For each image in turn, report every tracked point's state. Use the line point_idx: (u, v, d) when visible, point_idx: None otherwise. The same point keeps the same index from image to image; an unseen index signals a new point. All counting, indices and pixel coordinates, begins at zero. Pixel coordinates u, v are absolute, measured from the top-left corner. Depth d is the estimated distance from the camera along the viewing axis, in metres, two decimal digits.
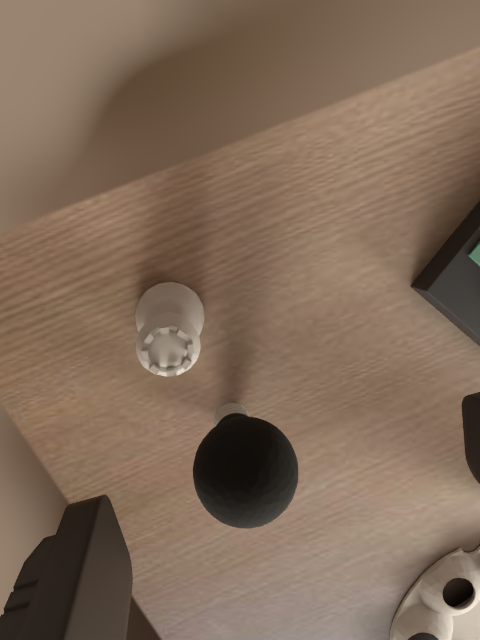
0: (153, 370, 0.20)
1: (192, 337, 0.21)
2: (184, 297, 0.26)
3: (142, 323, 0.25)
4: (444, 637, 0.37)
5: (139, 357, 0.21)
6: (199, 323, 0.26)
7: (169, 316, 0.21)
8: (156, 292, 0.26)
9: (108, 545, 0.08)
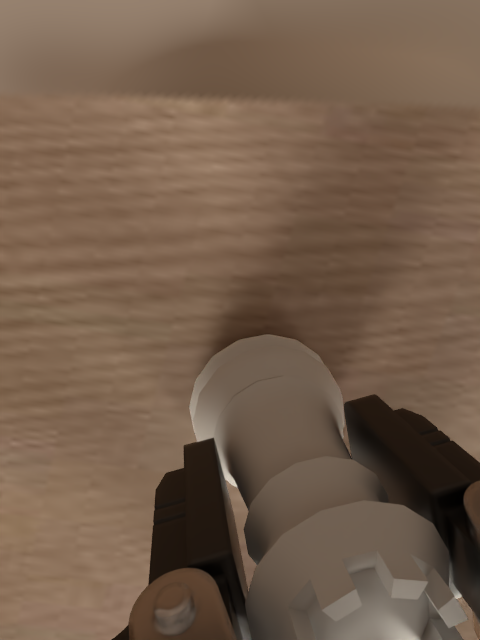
0: None
1: None
2: (328, 390, 0.11)
3: (221, 422, 0.10)
4: None
5: (255, 614, 0.06)
6: None
7: (402, 513, 0.06)
8: (273, 358, 0.11)
9: (223, 479, 0.09)
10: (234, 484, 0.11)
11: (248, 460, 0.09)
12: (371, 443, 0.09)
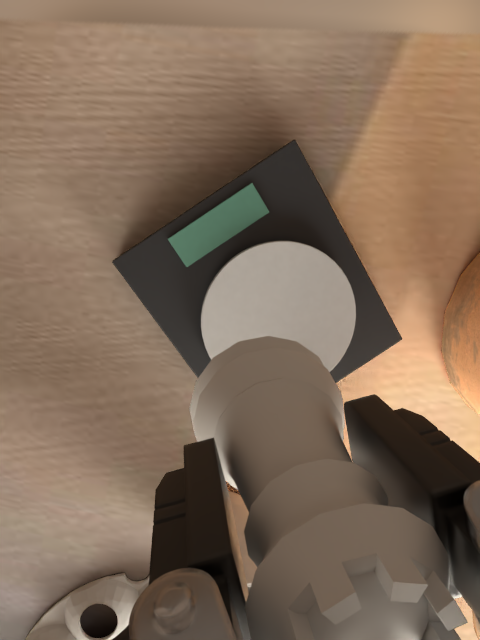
0: None
1: None
2: (328, 392, 0.11)
3: (221, 424, 0.10)
4: None
5: (254, 617, 0.06)
6: None
7: (402, 516, 0.06)
8: (273, 360, 0.11)
9: (223, 479, 0.09)
10: (234, 486, 0.11)
11: (248, 462, 0.09)
12: (371, 444, 0.09)
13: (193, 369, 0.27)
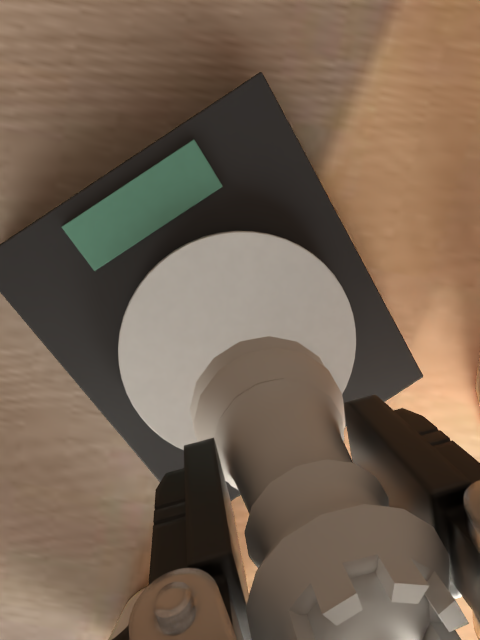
0: None
1: None
2: (328, 393, 0.11)
3: (222, 425, 0.10)
4: None
5: (255, 617, 0.06)
6: None
7: (403, 516, 0.06)
8: (274, 360, 0.11)
9: (223, 479, 0.09)
10: (235, 486, 0.11)
11: (249, 463, 0.09)
12: (371, 443, 0.09)
13: (113, 423, 0.18)
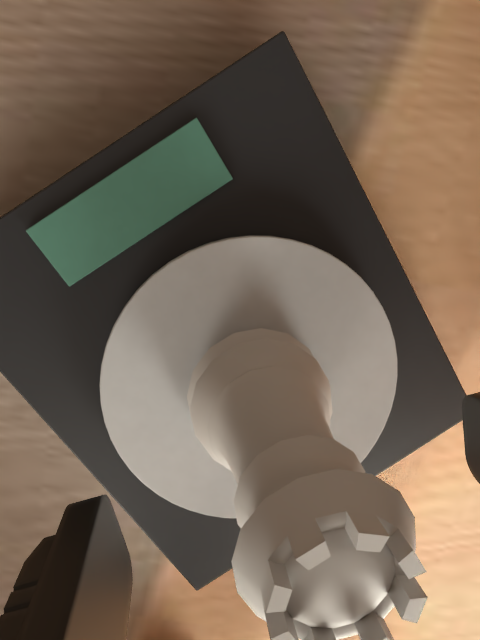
0: None
1: None
2: (316, 380, 0.12)
3: (215, 409, 0.11)
4: None
5: (240, 569, 0.07)
6: None
7: (371, 481, 0.07)
8: (264, 350, 0.12)
9: (108, 545, 0.08)
10: (228, 467, 0.12)
11: (239, 442, 0.10)
12: None
13: (95, 474, 0.15)
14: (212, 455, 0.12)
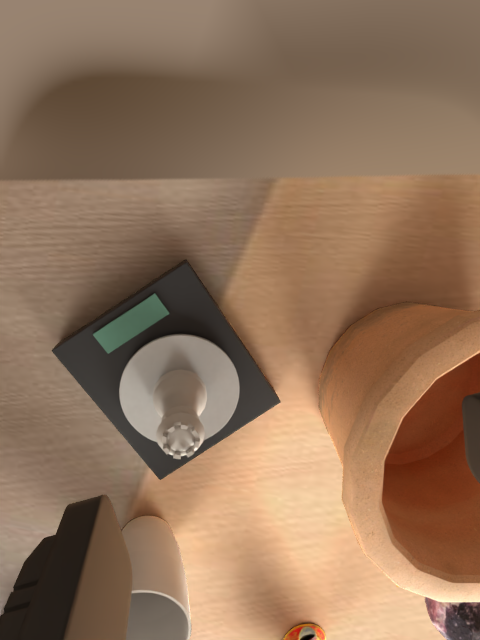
0: (165, 451, 0.28)
1: (200, 435, 0.28)
2: (197, 389, 0.33)
3: (160, 399, 0.32)
4: None
5: (157, 436, 0.28)
6: (201, 410, 0.34)
7: (189, 415, 0.28)
8: (178, 378, 0.33)
9: (108, 545, 0.08)
10: None
11: (165, 409, 0.31)
12: None
13: (116, 426, 0.36)
14: (160, 416, 0.34)
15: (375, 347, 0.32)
